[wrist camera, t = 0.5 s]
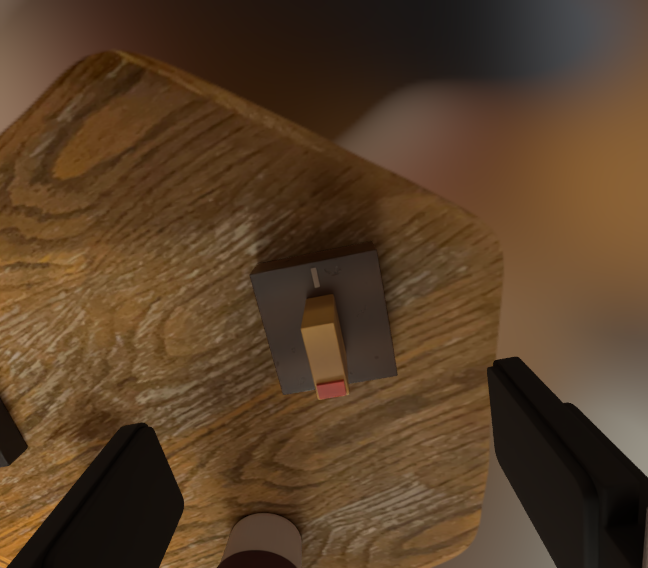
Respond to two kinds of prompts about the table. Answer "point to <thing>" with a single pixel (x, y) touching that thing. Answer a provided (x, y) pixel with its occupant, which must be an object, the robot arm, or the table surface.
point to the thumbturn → (325, 347)
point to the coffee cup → (263, 543)
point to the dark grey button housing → (9, 439)
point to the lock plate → (351, 302)
